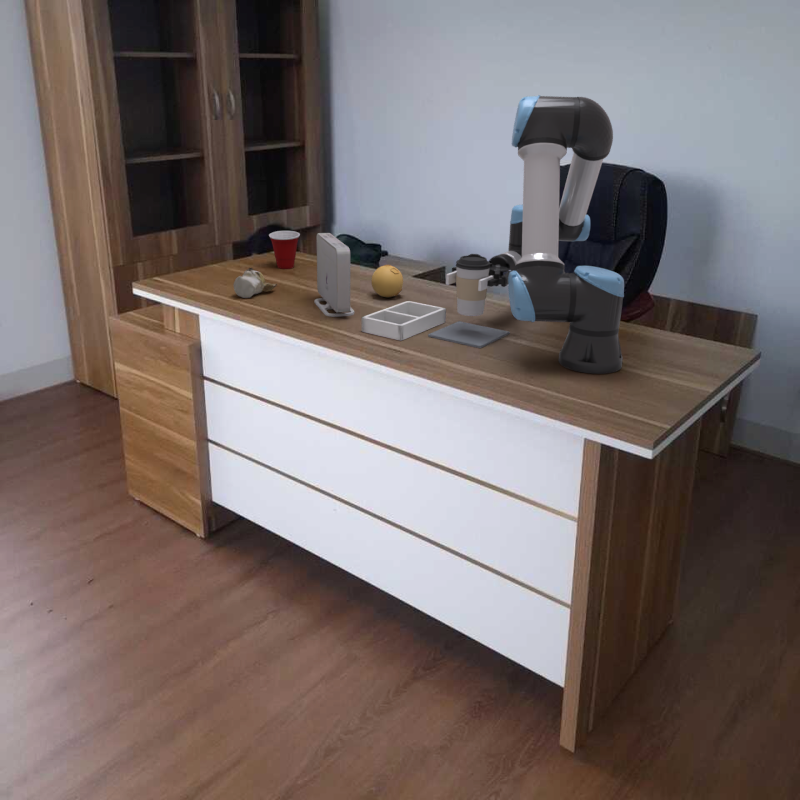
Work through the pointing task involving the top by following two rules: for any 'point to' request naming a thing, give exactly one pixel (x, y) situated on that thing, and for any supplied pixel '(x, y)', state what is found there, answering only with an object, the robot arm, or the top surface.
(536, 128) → the robot arm
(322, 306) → the network device
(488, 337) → the grey mat
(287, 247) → the plastic cup
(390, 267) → the stress ball
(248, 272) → the ceramic sculpture
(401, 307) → the white rectangular frame
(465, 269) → the coffee cup
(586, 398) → the top surface
